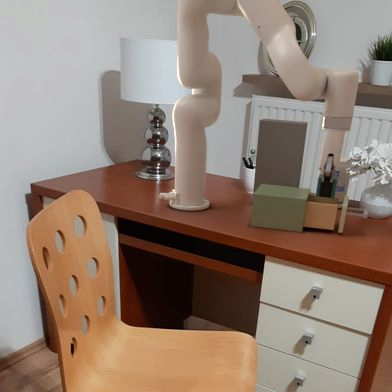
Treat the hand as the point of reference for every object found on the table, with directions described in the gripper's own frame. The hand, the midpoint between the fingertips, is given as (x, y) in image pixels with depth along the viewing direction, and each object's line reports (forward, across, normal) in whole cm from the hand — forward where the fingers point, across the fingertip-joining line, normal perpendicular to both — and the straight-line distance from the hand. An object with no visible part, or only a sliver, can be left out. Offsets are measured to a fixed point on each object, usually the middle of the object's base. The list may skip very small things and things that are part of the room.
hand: (325, 193), depth 145 cm
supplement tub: (+10, -26, +1) cm, 28 cm away
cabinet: (+10, 0, -12) cm, 15 cm away
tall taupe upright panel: (+10, -20, -16) cm, 27 cm away
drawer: (+9, 0, +2) cm, 9 cm away
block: (0, 0, 0) cm, 0 cm away
